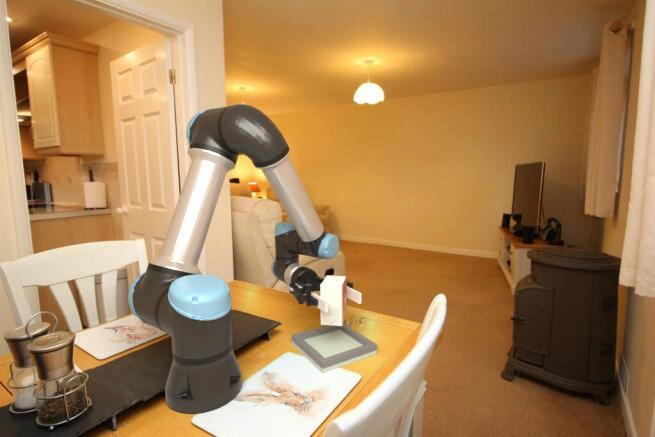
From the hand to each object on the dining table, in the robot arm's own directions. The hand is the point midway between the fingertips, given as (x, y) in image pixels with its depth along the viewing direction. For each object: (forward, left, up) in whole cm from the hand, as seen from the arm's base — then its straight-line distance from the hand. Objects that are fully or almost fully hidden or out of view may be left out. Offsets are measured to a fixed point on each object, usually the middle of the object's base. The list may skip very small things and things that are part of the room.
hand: (344, 302), depth 84 cm
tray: (0, +4, -14) cm, 14 cm away
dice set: (+14, +13, -15) cm, 24 cm away
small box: (0, +5, -6) cm, 8 cm away
